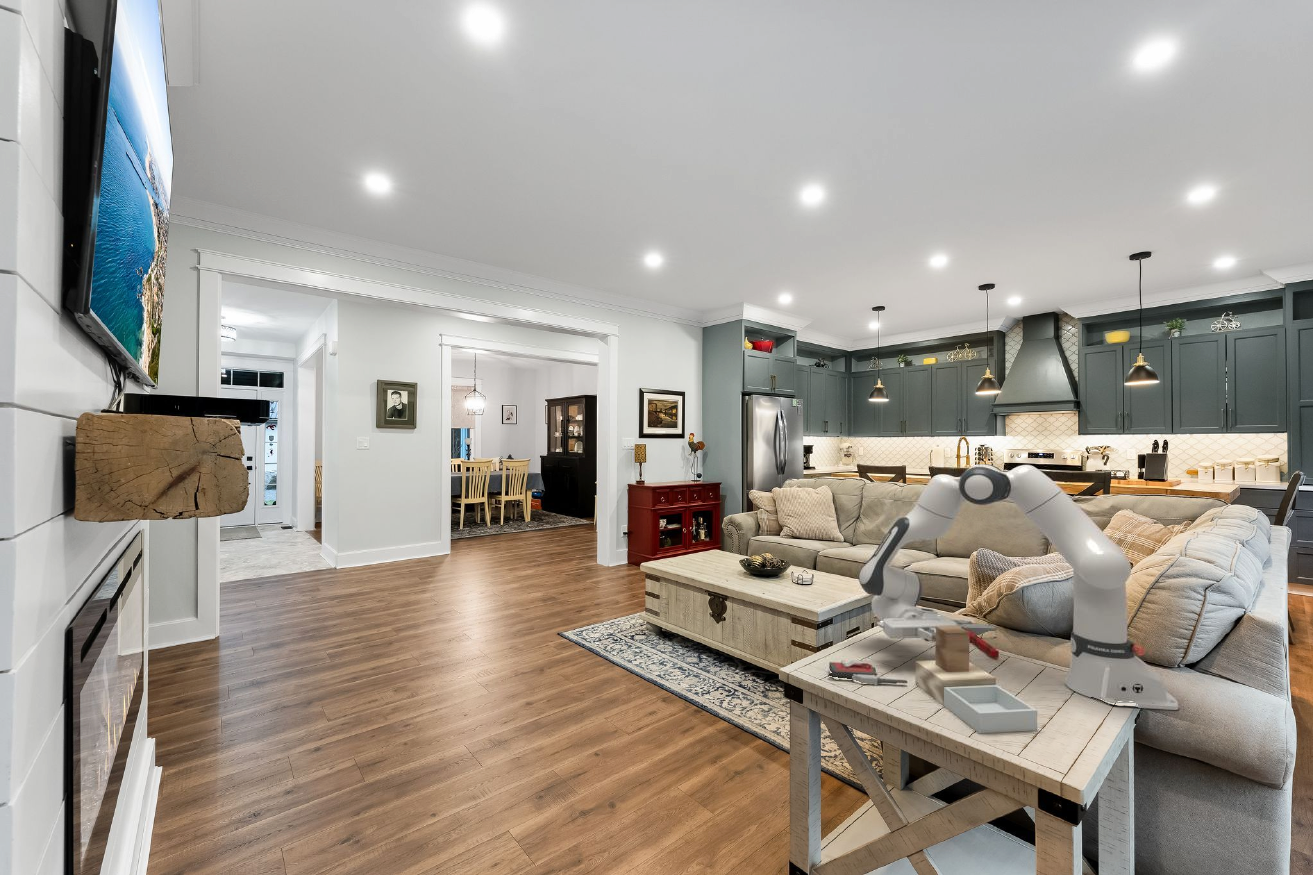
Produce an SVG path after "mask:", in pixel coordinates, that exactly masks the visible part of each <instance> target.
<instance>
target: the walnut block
mask: <svg viewBox="0 0 1313 875" xmlns="http://www.w3.org/2000/svg"><path fill="white" fill-rule="evenodd" d="M970 643H971V641H970V632H968V631H966V630H964V629H962V628H961V627H959V626H936V641H935V655H934V657H935V664H936V665H937V666H939V667H940V668H942V669H943V670H944V671H946V672H966V671H969V662H970Z"/></svg>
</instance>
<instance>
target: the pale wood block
mask: <svg viewBox="0 0 1313 875" xmlns="http://www.w3.org/2000/svg"><path fill="white" fill-rule="evenodd" d="M914 683H915V685H917V686H918V687H920V689H922V690H923V691H924V692H926V693H927V694H928V695H930V696H931V697H932V698H933V699H934V700H936V701H937V702H939V703H940V704H941V705H942V706H944V687H961V686H983V685H997V678H996V677H995V676H993V675H992V674H990V673H989V672H986V671H985V670H984V669H982V668H981V667H978V666H977V665H975V664H973V663H972V662H970V661H969V671H966V672H946V671H944V670H943V669H942V668H940V667H939V666H937V665H936V664H935V660H916V661H915V682H914Z"/></svg>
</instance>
